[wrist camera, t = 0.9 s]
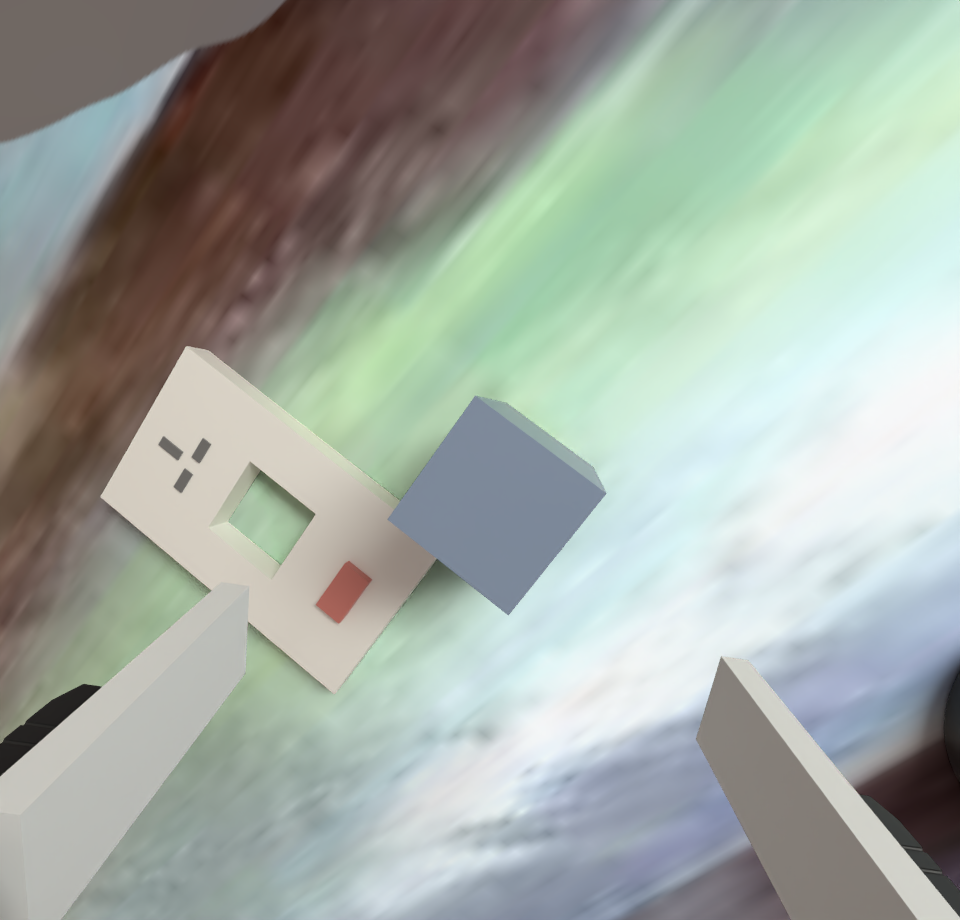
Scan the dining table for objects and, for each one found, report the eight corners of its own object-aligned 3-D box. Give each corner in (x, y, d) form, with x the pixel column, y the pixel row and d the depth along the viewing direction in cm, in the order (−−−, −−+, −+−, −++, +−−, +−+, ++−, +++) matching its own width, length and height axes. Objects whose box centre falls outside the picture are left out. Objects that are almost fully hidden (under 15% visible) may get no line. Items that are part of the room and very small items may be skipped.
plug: (591, 463, 31) (606, 493, 19) (530, 541, 32) (508, 615, 20) (510, 403, 31) (475, 395, 19) (453, 482, 32) (387, 519, 20)
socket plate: (450, 540, 33) (441, 551, 30) (347, 678, 35) (330, 699, 32) (208, 350, 35) (179, 344, 32) (125, 492, 37) (92, 498, 34)
